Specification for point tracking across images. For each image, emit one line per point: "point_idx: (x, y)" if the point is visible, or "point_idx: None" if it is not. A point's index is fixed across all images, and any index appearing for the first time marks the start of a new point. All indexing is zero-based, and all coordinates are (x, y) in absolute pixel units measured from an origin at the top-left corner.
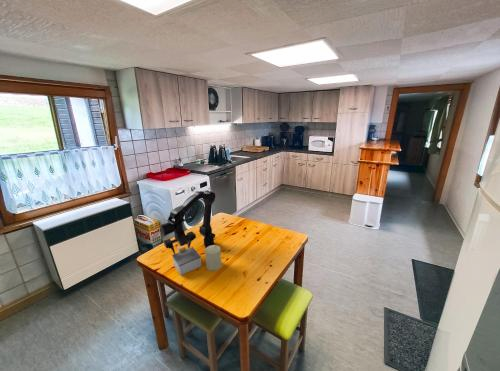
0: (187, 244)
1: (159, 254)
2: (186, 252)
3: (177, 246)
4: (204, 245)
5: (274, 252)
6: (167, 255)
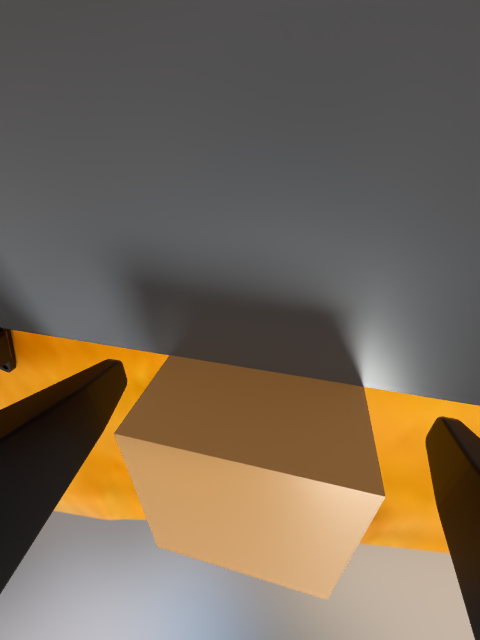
0: (83, 461)
1: (428, 512)
2: (185, 200)
3: (319, 586)
4: (4, 331)
5: None
6: (383, 459)
